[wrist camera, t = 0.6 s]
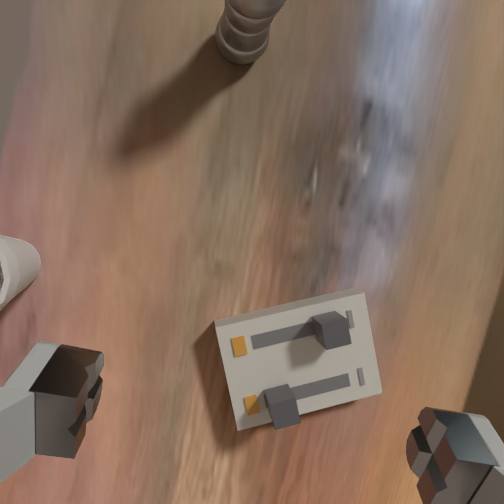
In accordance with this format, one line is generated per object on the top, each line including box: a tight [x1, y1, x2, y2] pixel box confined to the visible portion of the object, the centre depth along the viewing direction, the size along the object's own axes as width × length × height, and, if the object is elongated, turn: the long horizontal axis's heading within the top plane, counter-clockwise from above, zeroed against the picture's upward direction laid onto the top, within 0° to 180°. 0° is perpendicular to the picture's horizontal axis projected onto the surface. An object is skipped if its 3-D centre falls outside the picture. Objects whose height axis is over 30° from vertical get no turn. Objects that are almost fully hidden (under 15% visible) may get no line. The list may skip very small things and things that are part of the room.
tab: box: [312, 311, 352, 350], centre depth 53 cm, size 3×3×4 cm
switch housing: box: [214, 288, 382, 431], centre depth 58 cm, size 14×20×4 cm
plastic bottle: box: [216, 0, 286, 65], centre depth 46 cm, size 6×7×20 cm
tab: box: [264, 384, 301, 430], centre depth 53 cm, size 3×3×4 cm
